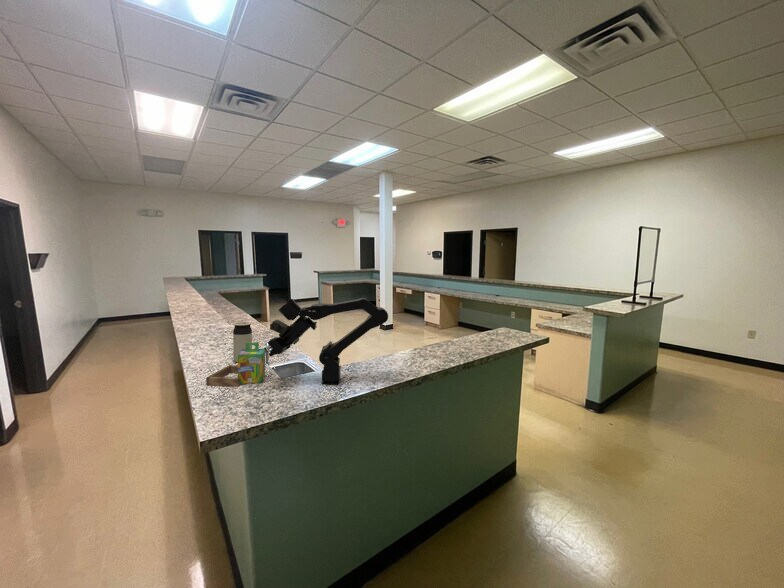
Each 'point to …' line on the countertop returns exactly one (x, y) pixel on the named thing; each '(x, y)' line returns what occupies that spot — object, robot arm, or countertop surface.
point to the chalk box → (251, 364)
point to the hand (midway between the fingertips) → (269, 355)
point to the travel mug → (241, 337)
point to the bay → (220, 378)
